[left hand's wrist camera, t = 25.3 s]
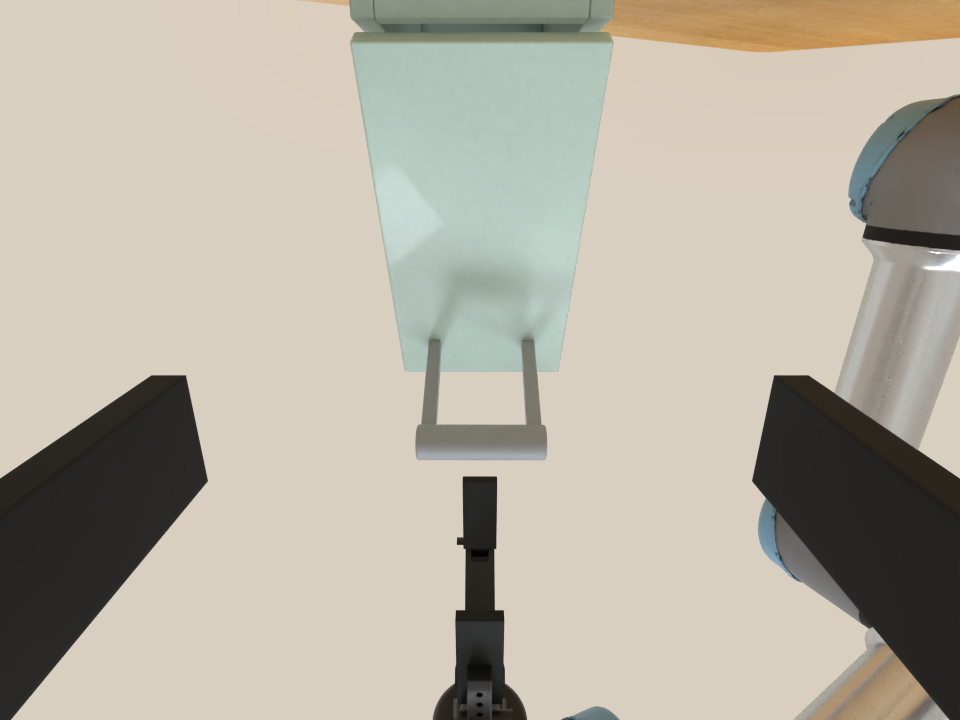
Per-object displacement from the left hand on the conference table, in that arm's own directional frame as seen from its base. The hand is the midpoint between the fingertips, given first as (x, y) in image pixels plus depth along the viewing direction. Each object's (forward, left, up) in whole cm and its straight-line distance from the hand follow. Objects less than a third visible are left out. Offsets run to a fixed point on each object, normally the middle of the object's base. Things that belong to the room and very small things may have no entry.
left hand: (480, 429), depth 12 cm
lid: (+14, -7, -2) cm, 16 cm away
